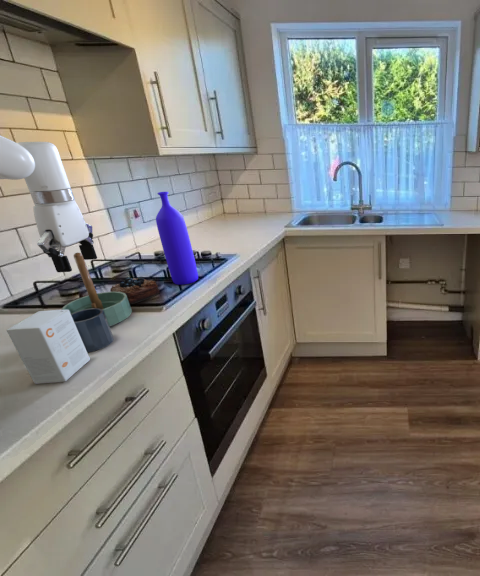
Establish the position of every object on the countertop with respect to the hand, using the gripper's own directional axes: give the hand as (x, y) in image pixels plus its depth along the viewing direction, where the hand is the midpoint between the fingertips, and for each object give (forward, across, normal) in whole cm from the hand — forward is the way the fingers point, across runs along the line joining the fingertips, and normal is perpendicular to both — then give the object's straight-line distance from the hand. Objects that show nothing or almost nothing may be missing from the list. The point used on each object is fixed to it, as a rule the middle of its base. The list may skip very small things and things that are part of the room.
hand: (78, 265), depth 93 cm
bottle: (+16, -27, +12) cm, 34 cm away
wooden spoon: (+16, 0, +1) cm, 16 cm away
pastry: (+16, -16, +2) cm, 23 cm away
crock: (+16, +13, +7) cm, 22 cm away
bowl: (+16, 0, +1) cm, 16 cm away
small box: (+17, +24, +7) cm, 30 cm away
